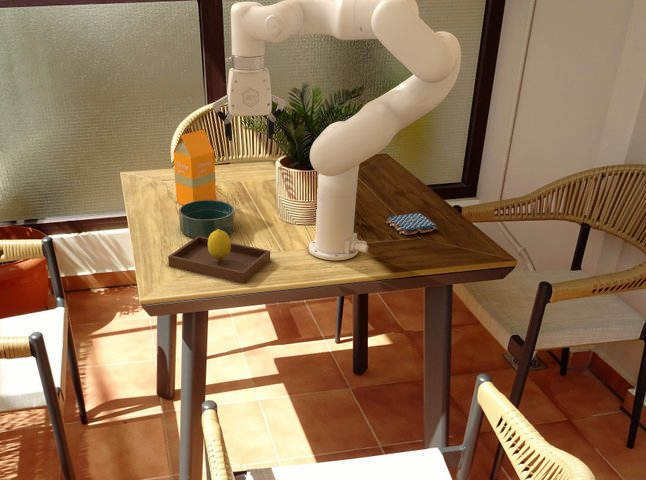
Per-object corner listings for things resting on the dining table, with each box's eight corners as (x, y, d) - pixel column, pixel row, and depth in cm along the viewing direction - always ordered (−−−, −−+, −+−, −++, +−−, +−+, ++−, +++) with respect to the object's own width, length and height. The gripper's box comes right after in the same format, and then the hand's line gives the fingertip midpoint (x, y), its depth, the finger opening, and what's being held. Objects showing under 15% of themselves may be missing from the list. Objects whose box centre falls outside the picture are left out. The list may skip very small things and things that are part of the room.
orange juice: (216, 200, 214) (213, 131, 203) (193, 208, 209) (189, 138, 198) (198, 194, 219) (195, 126, 207) (176, 201, 213) (171, 132, 202)
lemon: (227, 266, 176) (226, 234, 171) (205, 263, 177) (204, 232, 172) (233, 256, 180) (232, 226, 176) (211, 254, 181) (210, 224, 177)
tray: (270, 260, 180) (270, 250, 179) (243, 283, 170) (243, 273, 168) (198, 244, 188) (198, 235, 186) (168, 266, 177) (167, 256, 176)
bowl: (244, 224, 199) (244, 205, 196) (217, 244, 188) (216, 224, 185) (198, 215, 205) (197, 196, 202) (169, 233, 194) (168, 214, 191)
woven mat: (418, 217, 205) (419, 210, 203) (437, 231, 196) (438, 224, 195) (385, 222, 202) (385, 215, 200) (403, 236, 193) (404, 229, 192)
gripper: (212, 67, 163) (215, 144, 172) (288, 64, 165) (287, 141, 175) (209, 60, 169) (212, 135, 178) (282, 58, 171) (282, 132, 181)
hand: (249, 138), depth 176 cm, fingers open, 9 cm apart
